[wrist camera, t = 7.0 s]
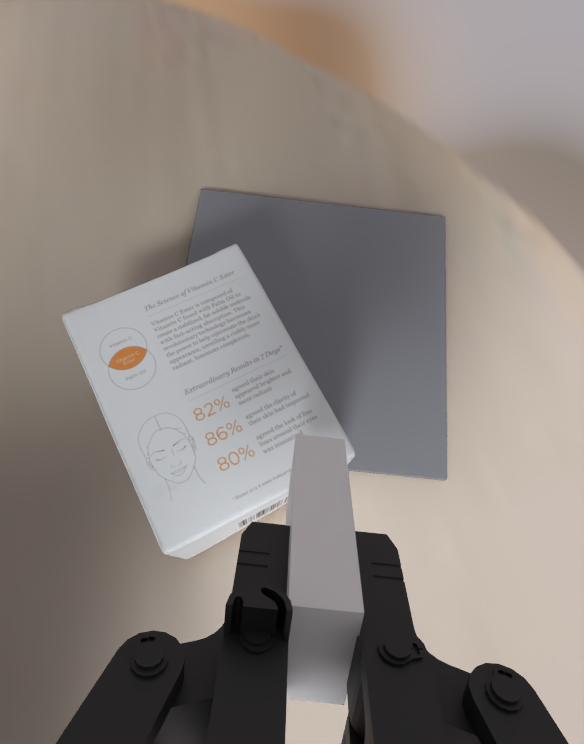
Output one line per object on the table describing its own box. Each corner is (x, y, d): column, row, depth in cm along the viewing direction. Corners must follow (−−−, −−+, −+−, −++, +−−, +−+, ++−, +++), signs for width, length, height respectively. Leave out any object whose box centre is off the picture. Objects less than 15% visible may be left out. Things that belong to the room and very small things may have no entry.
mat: (153, 449, 26) (151, 448, 26) (201, 193, 31) (200, 189, 31) (444, 480, 26) (446, 479, 26) (443, 220, 32) (445, 216, 31)
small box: (340, 480, 26) (243, 299, 29) (360, 455, 20) (239, 238, 24) (182, 562, 24) (97, 362, 27) (159, 559, 19) (57, 311, 22)
